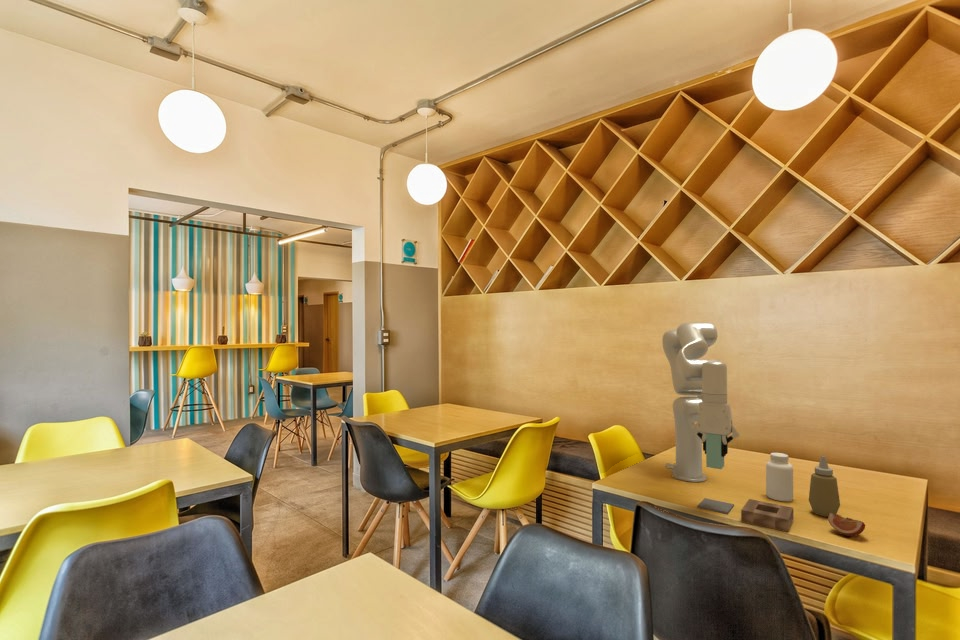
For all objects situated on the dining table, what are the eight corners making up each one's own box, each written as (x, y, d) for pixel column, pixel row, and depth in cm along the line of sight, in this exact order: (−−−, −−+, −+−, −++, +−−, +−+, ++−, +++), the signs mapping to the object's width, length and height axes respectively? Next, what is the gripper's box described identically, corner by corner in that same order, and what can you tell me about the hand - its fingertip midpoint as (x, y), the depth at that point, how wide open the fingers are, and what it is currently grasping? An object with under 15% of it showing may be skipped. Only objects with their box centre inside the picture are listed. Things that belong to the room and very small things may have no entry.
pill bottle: (784, 503, 158) (784, 458, 158) (761, 496, 165) (760, 453, 166) (798, 499, 162) (797, 455, 162) (774, 492, 169) (774, 450, 169)
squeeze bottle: (841, 521, 144) (840, 461, 144) (809, 515, 148) (808, 457, 148) (838, 512, 150) (837, 455, 151) (808, 507, 155) (807, 452, 155)
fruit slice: (824, 531, 137) (823, 513, 137) (836, 526, 140) (835, 509, 140) (858, 542, 129) (857, 524, 129) (870, 537, 132) (869, 519, 133)
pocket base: (741, 521, 144) (741, 509, 144) (749, 509, 153) (749, 498, 153) (788, 532, 136) (788, 519, 136) (793, 519, 145) (793, 507, 145)
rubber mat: (697, 507, 155) (697, 505, 155) (704, 499, 162) (704, 498, 162) (727, 514, 149) (727, 512, 149) (734, 506, 156) (734, 504, 156)
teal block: (706, 466, 155) (705, 430, 156) (709, 464, 159) (709, 428, 159) (721, 469, 152) (720, 431, 153) (724, 466, 156) (723, 429, 156)
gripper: (684, 397, 159) (685, 452, 158) (740, 402, 148) (741, 461, 147) (690, 395, 164) (691, 448, 164) (745, 399, 154) (746, 456, 153)
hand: (715, 454), depth 156 cm, fingers closed on teal block, 4 cm apart
